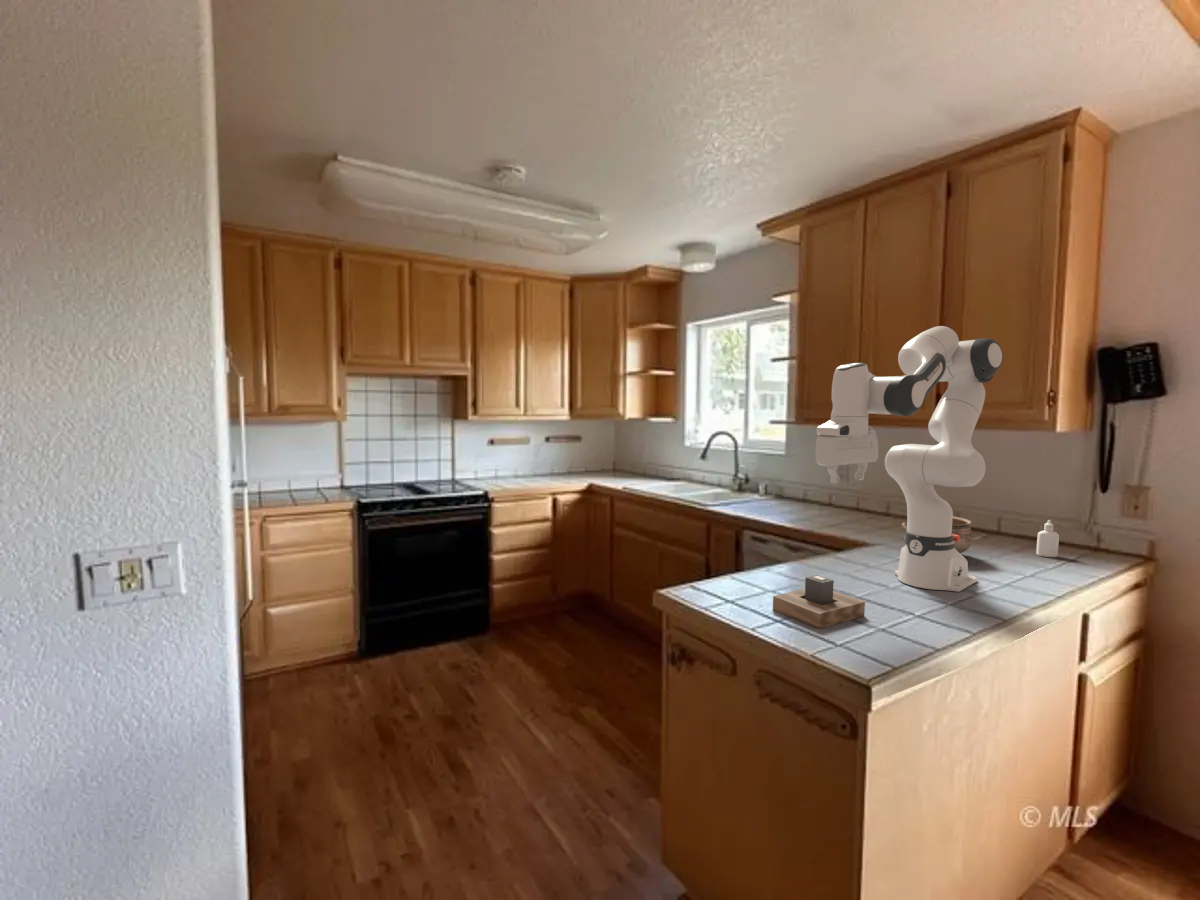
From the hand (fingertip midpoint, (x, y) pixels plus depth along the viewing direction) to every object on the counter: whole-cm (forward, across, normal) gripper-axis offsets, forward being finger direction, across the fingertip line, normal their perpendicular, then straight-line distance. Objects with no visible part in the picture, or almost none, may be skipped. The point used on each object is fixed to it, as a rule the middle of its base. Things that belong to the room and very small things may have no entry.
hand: (847, 481), depth 155 cm
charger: (+30, +14, +4) cm, 34 cm away
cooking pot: (+32, -63, -12) cm, 71 cm away
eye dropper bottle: (+32, -94, +6) cm, 99 cm away
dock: (+31, +14, +4) cm, 34 cm away
